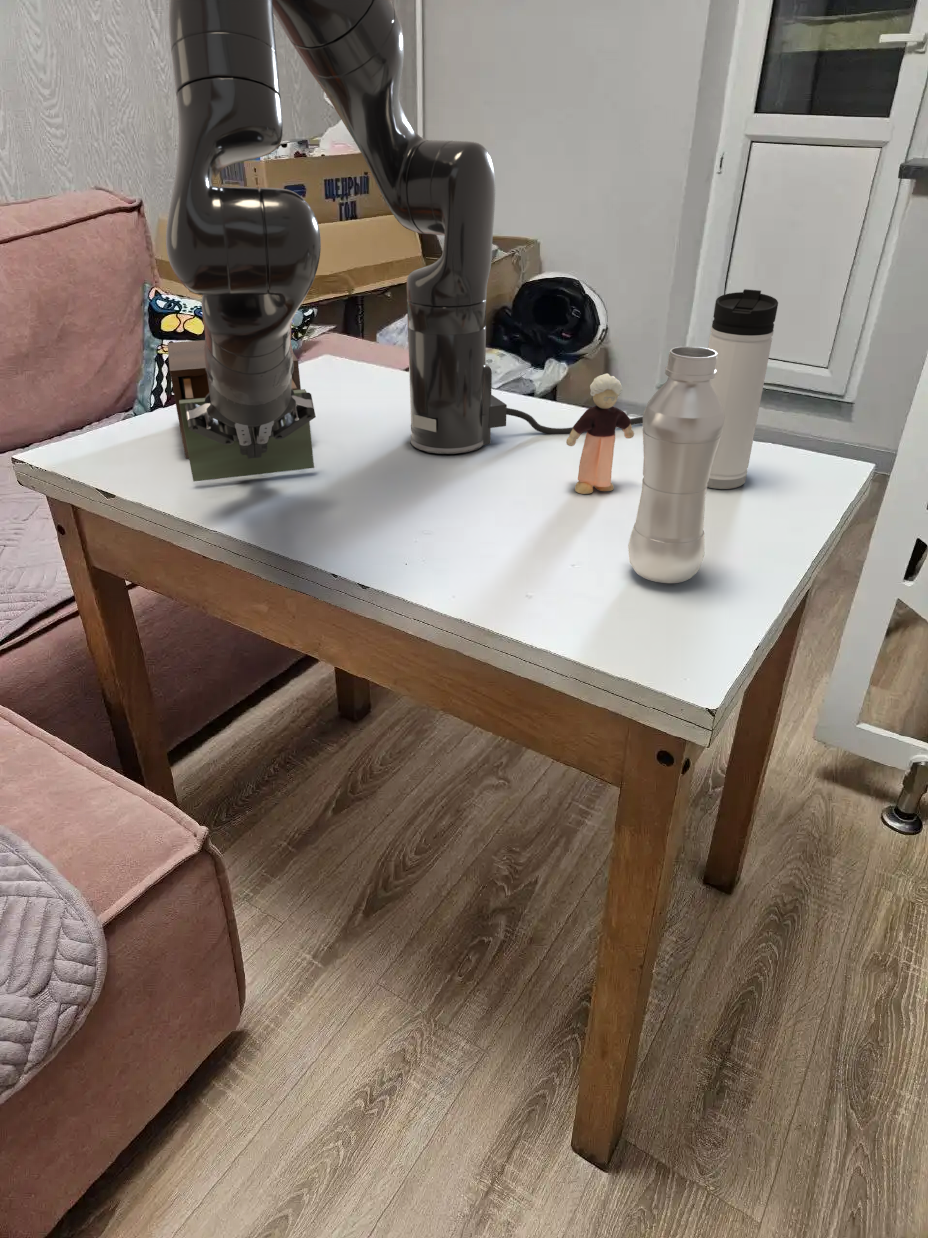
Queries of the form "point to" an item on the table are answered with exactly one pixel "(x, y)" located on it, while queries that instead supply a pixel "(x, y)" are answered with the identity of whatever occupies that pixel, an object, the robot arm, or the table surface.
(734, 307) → the travel mug
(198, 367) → the cabinet
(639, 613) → the table surface
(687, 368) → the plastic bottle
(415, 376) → the robot arm
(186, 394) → the drawer
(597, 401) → the grandmother figurine
